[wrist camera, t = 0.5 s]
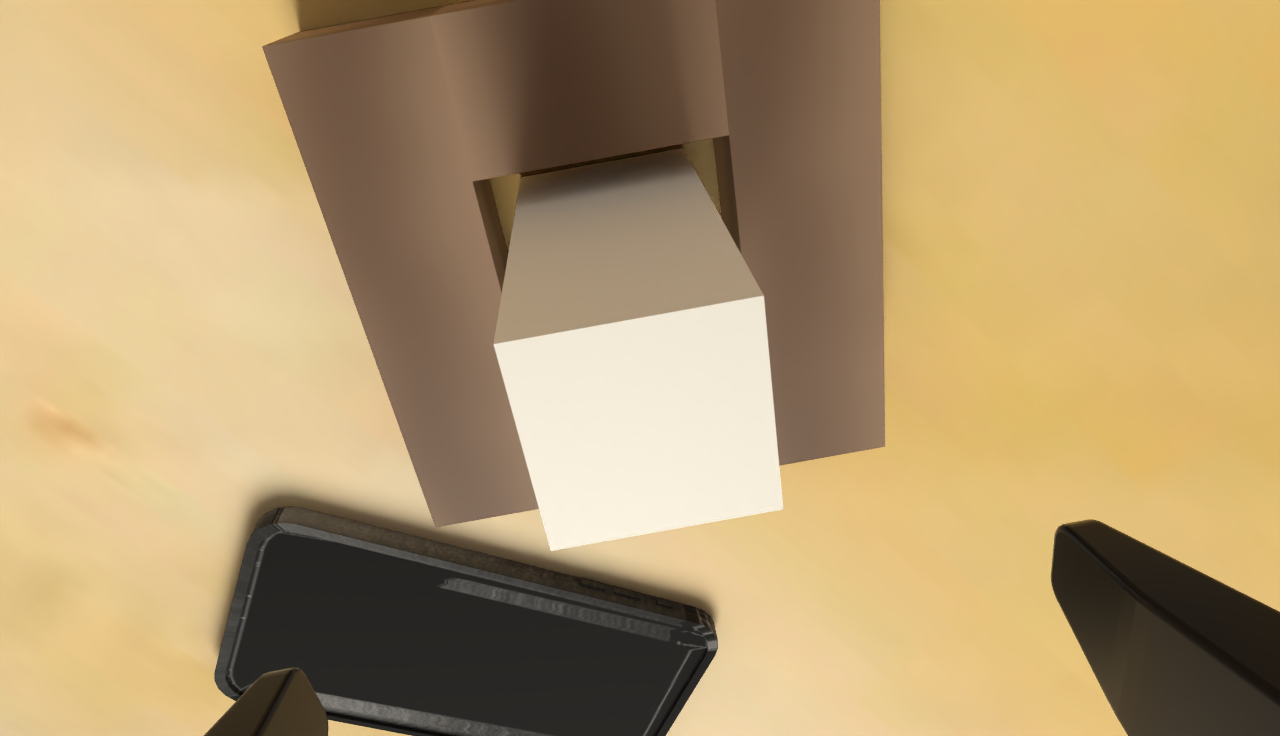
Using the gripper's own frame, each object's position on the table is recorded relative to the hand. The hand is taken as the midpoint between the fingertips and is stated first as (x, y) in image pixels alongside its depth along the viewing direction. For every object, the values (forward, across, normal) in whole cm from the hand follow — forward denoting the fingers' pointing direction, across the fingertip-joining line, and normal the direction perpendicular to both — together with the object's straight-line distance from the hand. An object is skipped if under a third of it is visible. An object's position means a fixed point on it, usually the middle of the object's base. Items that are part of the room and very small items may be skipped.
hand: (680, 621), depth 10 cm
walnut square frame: (+13, 0, 0) cm, 13 cm away
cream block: (+13, 0, 0) cm, 13 cm away
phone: (+13, +7, +13) cm, 20 cm away
